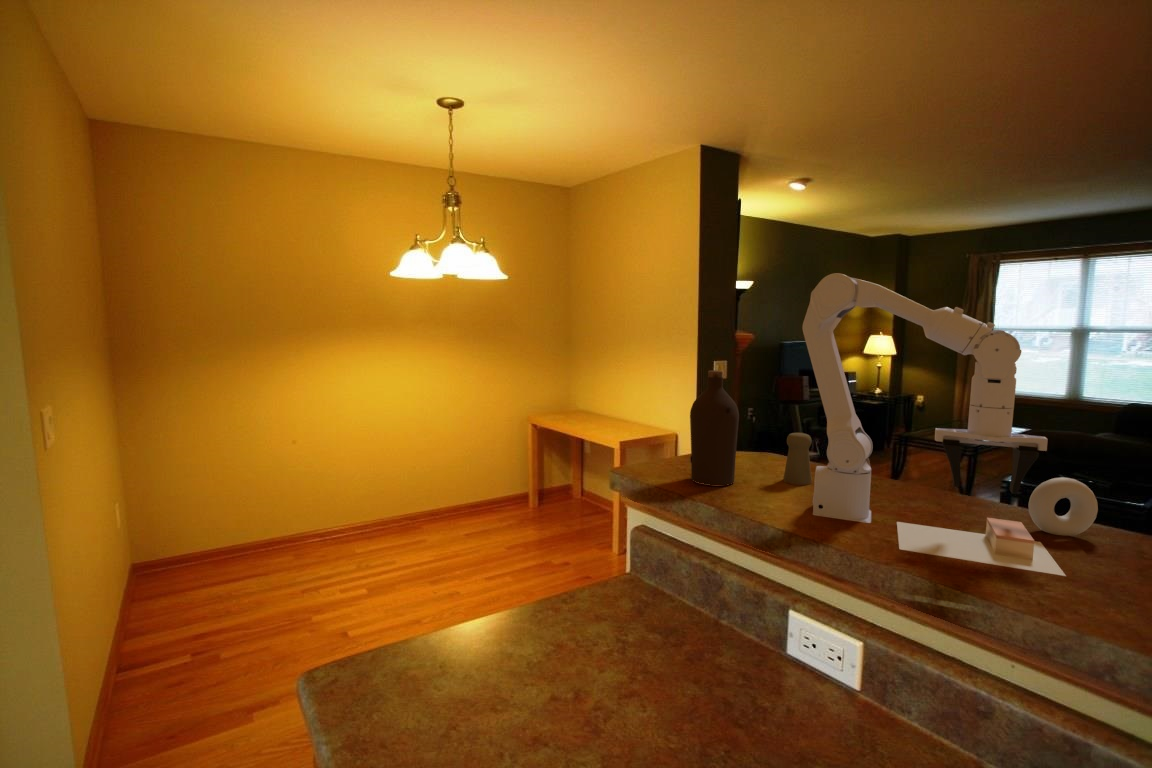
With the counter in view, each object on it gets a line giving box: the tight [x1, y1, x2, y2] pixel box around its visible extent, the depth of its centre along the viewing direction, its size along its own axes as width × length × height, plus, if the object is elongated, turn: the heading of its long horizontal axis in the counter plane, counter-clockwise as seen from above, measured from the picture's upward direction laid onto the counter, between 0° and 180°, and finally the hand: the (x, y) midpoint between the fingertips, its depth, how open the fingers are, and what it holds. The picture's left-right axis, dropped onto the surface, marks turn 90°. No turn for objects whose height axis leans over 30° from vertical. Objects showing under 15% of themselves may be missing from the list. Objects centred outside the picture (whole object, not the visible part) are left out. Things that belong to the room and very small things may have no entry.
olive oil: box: [689, 370, 740, 485], centre depth 126 cm, size 11×11×25 cm
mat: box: [896, 521, 1067, 577], centre depth 89 cm, size 20×14×1 cm
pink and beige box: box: [985, 517, 1035, 560], centre depth 88 cm, size 9×4×3 cm, turn 152°
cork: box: [782, 432, 813, 486], centre depth 127 cm, size 6×6×11 cm
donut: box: [1027, 476, 1099, 537], centre depth 94 cm, size 10×4×10 cm, turn 84°
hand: (984, 488), depth 92 cm, fingers open, 7 cm apart
